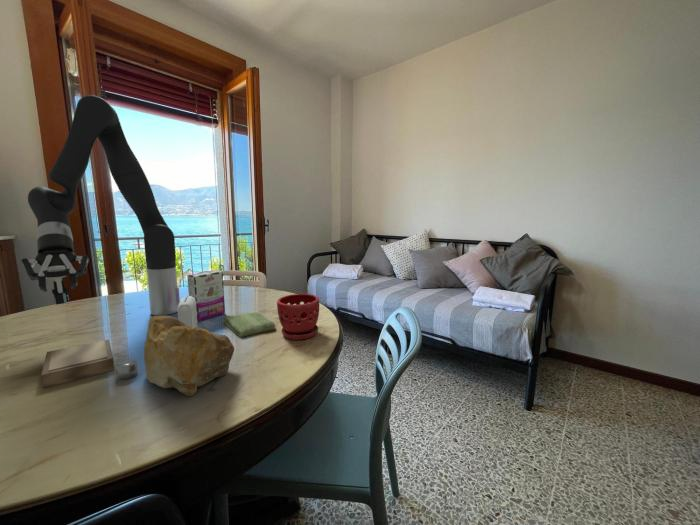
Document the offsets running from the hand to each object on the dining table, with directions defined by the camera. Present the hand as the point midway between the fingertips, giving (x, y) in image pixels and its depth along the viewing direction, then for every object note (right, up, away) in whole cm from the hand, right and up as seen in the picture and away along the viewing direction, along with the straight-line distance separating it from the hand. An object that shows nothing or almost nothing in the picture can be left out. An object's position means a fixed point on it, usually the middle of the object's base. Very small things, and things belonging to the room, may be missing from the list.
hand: (59, 288), depth 81 cm
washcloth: (+45, -15, +21) cm, 52 cm away
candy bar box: (+27, -13, +29) cm, 42 cm away
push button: (-1, -4, +2) cm, 5 cm away
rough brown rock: (+43, -20, -12) cm, 49 cm away
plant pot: (+63, -16, +15) cm, 66 cm away
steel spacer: (+27, -19, -12) cm, 35 cm away
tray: (+13, -18, -8) cm, 24 cm away
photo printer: (+29, -16, +11) cm, 35 cm away
